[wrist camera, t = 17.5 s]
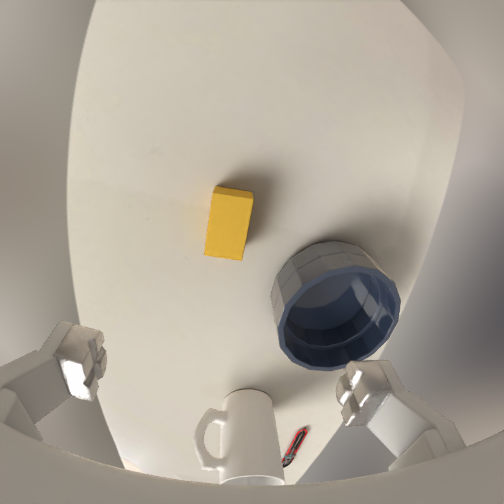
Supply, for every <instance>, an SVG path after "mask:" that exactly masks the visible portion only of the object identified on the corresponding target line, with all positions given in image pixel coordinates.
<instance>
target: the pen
mask: <svg viewBox="0 0 504 504" xmlns="http://www.w3.org/2000/svg"><path fill="white" fill-rule="evenodd" d="M303 430H304V431H303ZM302 432H303V434H302ZM300 434H302V436H301V438H300V440H299V442H298V444H297V446H296V448H295V447H294V445H295V444H296V442H297V440H298V438H299V436H300ZM306 434H307V430H306V429H302V430H300V431H299V432H298V433H297V434H296V436H295V438H294V440H293V442H292V444H291V446H290V448H289V450H288V452H287V453H286V454H285V458H283V460H282V463H283V461H284V460H286V462H285V463H284V464H283V468H285V467H286V466H288V465H289V464H290V463H291V462H292V460H293V459H294V458H293V456H295V455H296V452H297V450H298V449H299V447H300V445H301V443H302V442H303V440H304V438H305V436H306ZM293 447H294V448H293ZM292 448H293V449H292ZM288 460H291V461H290V462H289V463H288V464H287V462H288Z"/></svg>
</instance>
